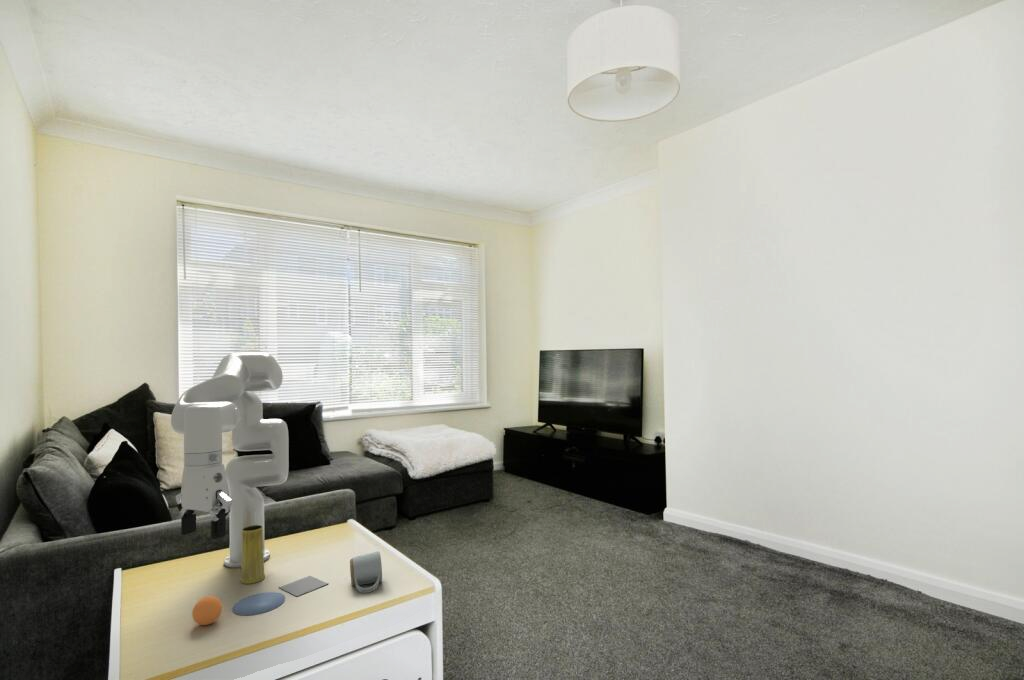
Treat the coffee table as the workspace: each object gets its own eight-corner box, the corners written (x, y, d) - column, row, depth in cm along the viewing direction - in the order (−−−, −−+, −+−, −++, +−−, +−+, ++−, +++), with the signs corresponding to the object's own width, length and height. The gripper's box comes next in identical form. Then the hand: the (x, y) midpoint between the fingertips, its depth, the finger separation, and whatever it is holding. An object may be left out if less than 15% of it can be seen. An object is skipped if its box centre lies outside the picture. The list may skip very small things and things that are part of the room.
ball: (187, 625, 120) (187, 598, 121) (215, 614, 125) (215, 589, 125) (198, 633, 117) (198, 606, 117) (226, 622, 121) (226, 596, 122)
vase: (269, 576, 147) (269, 525, 147) (252, 585, 141) (251, 532, 141) (252, 573, 149) (252, 523, 149) (235, 582, 143) (234, 530, 143)
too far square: (278, 588, 139) (278, 587, 139) (310, 576, 146) (310, 575, 146) (296, 596, 133) (296, 596, 133) (328, 584, 141) (328, 583, 141)
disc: (223, 606, 129) (223, 605, 129) (270, 588, 139) (270, 587, 139) (245, 620, 122) (245, 619, 122) (294, 600, 131) (294, 600, 131)
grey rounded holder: (349, 579, 143) (349, 551, 143) (379, 574, 146) (379, 547, 146) (352, 596, 133) (351, 566, 133) (384, 590, 136) (384, 561, 136)
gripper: (244, 457, 119) (245, 534, 118) (193, 454, 126) (193, 526, 125) (214, 464, 112) (214, 545, 111) (161, 460, 119) (161, 536, 118)
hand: (203, 535), depth 118 cm, fingers open, 9 cm apart
